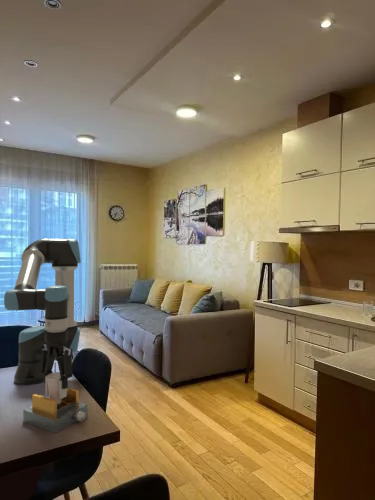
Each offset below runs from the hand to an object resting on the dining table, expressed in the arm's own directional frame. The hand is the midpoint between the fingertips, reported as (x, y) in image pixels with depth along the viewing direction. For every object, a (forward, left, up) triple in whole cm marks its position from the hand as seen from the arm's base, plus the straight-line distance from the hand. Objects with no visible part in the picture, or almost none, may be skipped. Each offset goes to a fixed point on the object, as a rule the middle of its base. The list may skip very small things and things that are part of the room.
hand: (55, 395), depth 124 cm
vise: (+2, 0, -8) cm, 8 cm away
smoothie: (0, 0, -3) cm, 3 cm away
